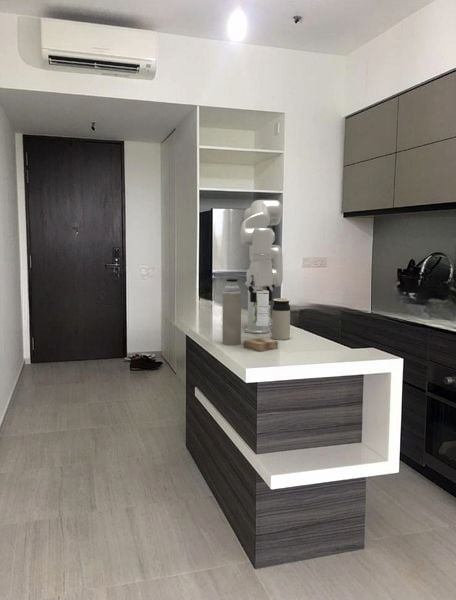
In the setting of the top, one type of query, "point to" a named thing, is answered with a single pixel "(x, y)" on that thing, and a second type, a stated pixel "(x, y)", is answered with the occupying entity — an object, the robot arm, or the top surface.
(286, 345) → the top surface
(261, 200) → the robot arm
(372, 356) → the top surface
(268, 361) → the top surface
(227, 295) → the thermos bottle
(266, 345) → the base block
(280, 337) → the travel mug
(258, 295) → the syrup box
